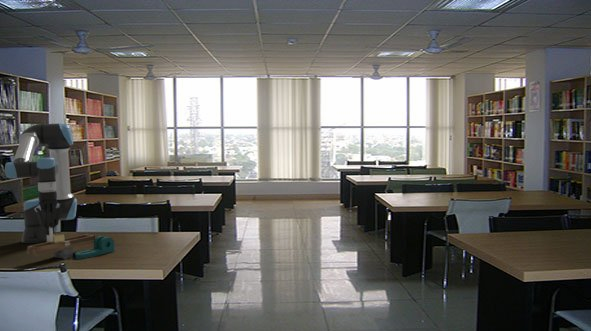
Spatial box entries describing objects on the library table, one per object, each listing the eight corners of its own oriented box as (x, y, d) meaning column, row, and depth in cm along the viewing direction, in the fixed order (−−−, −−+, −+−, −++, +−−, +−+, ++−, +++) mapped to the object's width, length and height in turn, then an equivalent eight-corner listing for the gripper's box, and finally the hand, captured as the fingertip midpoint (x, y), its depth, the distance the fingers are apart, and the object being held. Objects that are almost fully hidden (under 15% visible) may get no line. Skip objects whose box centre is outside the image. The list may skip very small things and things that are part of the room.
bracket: (106, 250, 246) (105, 234, 245) (114, 251, 242) (113, 236, 242) (72, 258, 231) (71, 241, 231) (80, 259, 227) (79, 243, 227)
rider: (49, 246, 229) (48, 235, 229) (59, 243, 234) (58, 233, 233) (54, 247, 227) (54, 236, 227) (64, 244, 231) (64, 234, 231)
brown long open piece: (26, 263, 223) (25, 246, 222) (85, 249, 248) (84, 234, 248) (38, 265, 218) (37, 248, 217) (96, 251, 243) (95, 235, 243)
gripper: (38, 193, 218) (41, 245, 220) (65, 189, 229) (67, 239, 231) (28, 192, 222) (31, 243, 224) (55, 189, 233) (58, 238, 235)
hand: (50, 241), depth 227 cm, fingers closed
